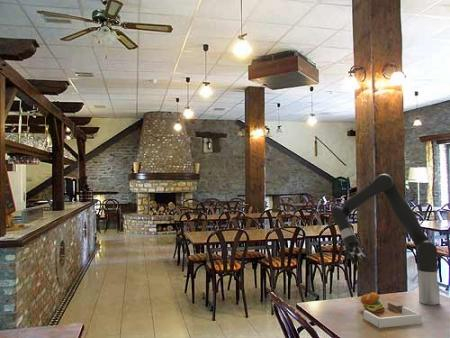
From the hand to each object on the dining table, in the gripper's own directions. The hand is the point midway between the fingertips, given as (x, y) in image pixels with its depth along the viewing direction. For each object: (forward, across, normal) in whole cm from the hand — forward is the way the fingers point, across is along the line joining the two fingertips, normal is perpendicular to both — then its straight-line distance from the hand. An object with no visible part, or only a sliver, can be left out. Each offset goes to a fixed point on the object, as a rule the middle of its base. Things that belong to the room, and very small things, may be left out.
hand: (360, 264), depth 212 cm
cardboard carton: (+26, +8, -3) cm, 28 cm away
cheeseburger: (+25, -3, +2) cm, 25 cm away
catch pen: (+34, -7, -11) cm, 36 cm away
